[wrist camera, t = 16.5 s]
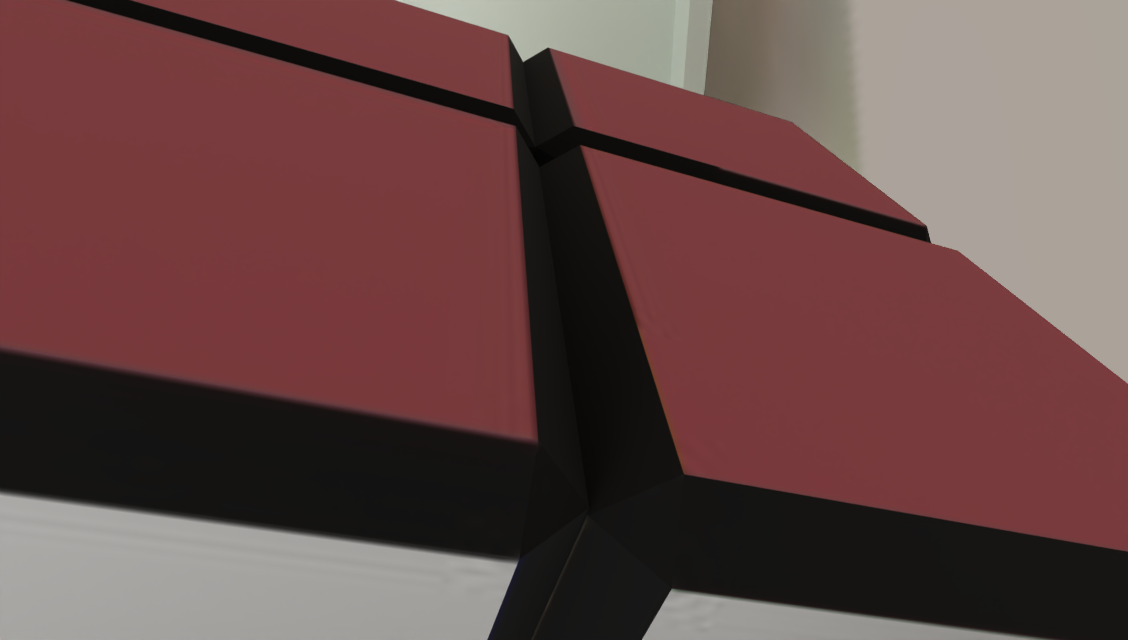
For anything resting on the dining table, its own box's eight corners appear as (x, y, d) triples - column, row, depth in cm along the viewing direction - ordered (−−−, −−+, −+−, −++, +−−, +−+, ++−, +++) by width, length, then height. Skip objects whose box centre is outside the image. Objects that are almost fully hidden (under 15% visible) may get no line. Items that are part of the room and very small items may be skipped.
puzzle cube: (192, -67, 10) (-1705, 155, 1) (802, 120, 12) (1523, 653, 4) (179, 445, 15) (-257, 1193, 6) (616, 512, 17) (734, 1133, 8)
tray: (669, 291, 29) (682, 323, 27) (308, 309, 28) (292, 343, 26) (702, -133, 21) (725, -136, 19) (202, -127, 20) (167, -130, 18)
